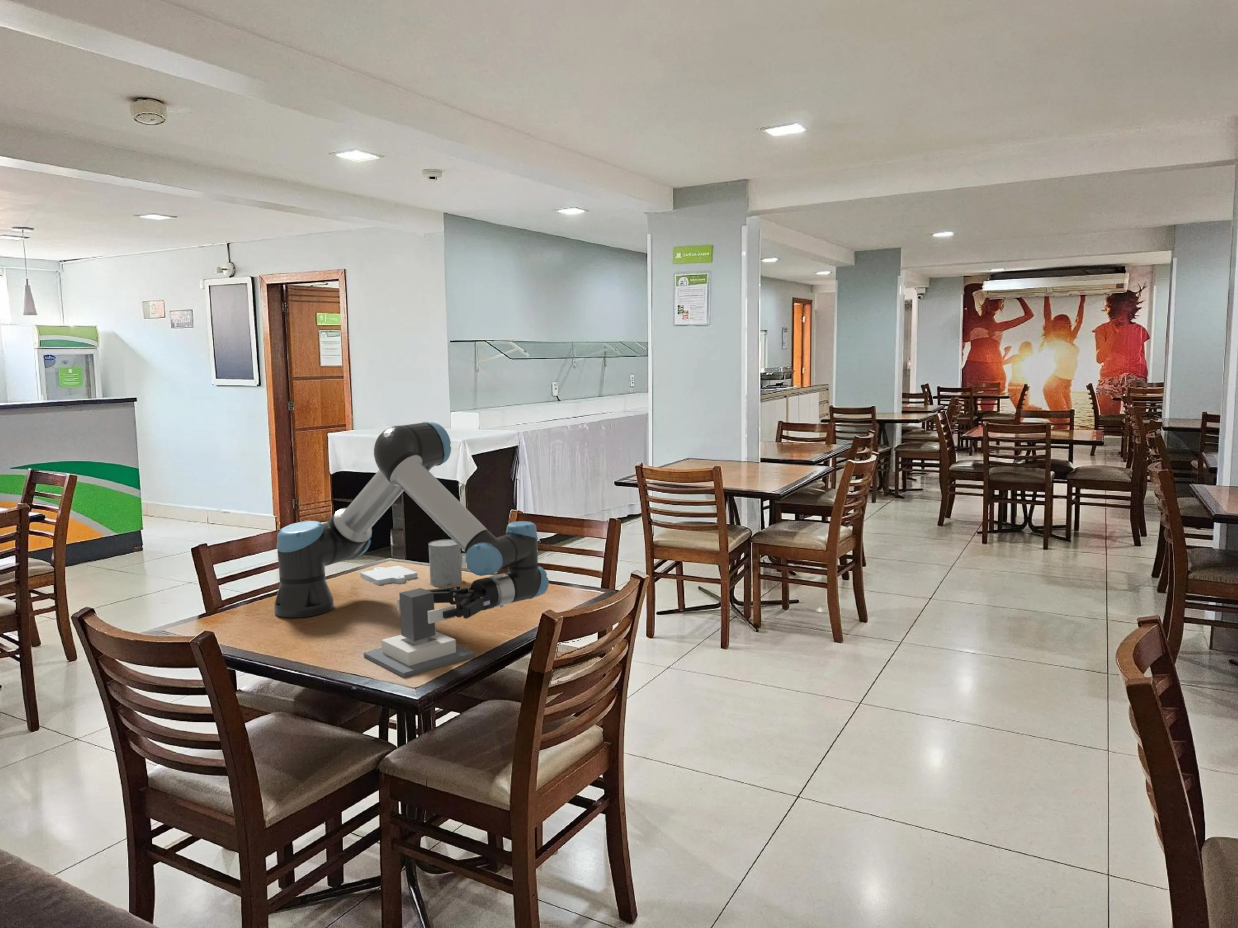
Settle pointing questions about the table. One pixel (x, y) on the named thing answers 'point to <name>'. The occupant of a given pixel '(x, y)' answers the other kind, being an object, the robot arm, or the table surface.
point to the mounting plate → (388, 575)
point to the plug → (416, 615)
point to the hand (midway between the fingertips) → (412, 611)
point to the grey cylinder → (445, 563)
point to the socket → (417, 654)
